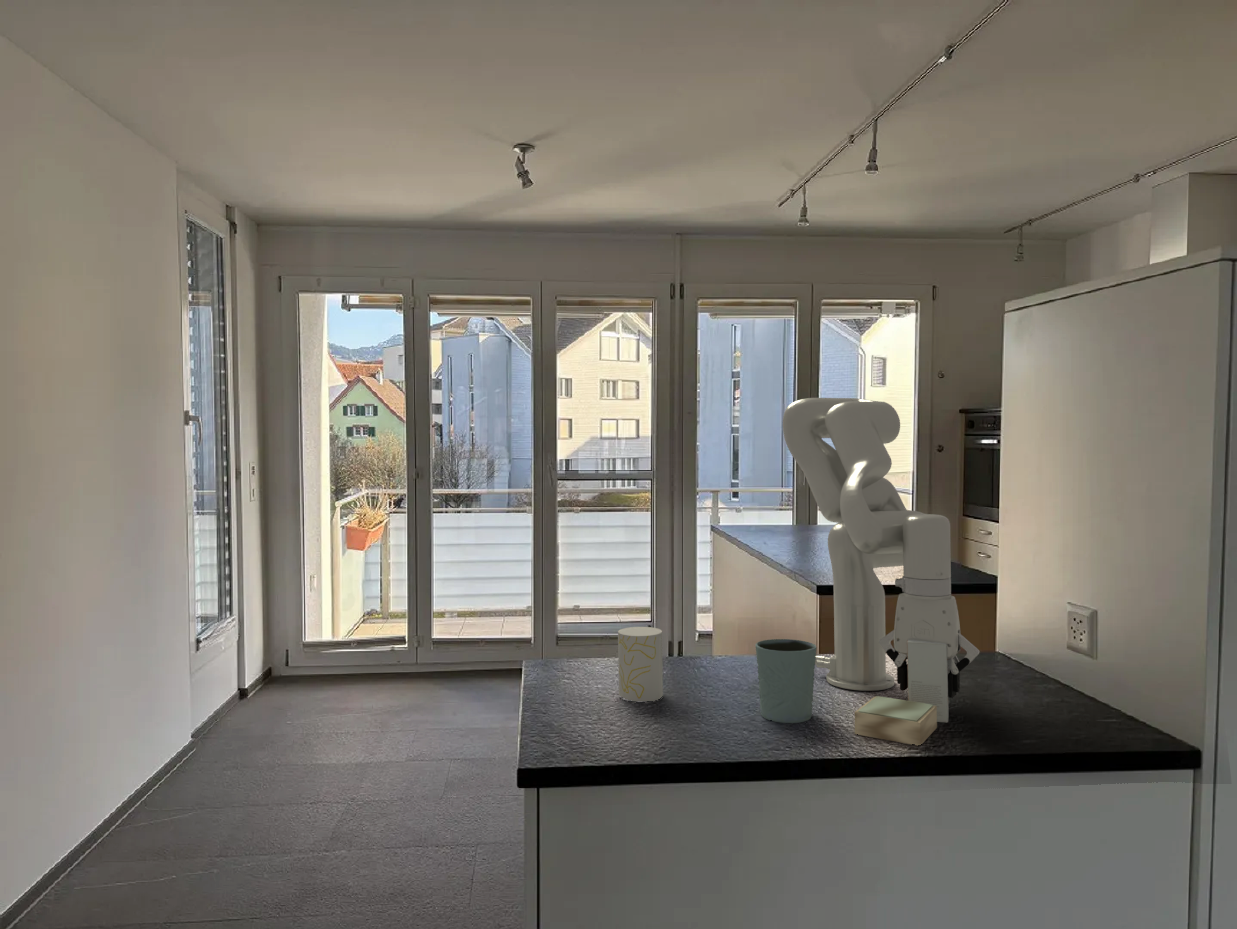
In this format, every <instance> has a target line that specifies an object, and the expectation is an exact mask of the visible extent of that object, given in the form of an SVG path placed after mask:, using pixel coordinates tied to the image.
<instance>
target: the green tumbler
mask: <svg viewBox="0 0 1237 929" xmlns="http://www.w3.org/2000/svg"><path fill="white" fill-rule="evenodd" d="M754 646H755V653H756V654H755V656H756V663H757V679H758V693H759V694H758V695H759V708H760V714H761V716H762V718H764V719H765V720H768V721H770V720H772V721H771V722H774V723H775V722H776V723H779V724H780V723H781V724H782V723H783V724H798V723H803V722H807V721H809V720H811V718H812V715H813V699H814V687H815V686H814V684H815V667H816V664H815V659H816V656H817V645H816V644H815V643H813V642H810V641H804V640H801V639H800V640H799V639H788V638H776V639H775V638H773V639H764V640H760V641H758V642H756V643H755V645H754Z"/></svg>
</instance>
